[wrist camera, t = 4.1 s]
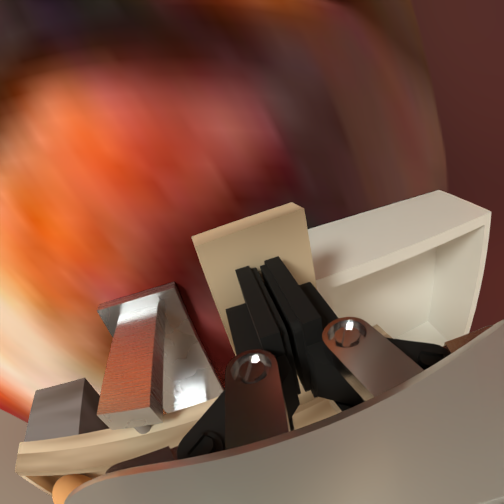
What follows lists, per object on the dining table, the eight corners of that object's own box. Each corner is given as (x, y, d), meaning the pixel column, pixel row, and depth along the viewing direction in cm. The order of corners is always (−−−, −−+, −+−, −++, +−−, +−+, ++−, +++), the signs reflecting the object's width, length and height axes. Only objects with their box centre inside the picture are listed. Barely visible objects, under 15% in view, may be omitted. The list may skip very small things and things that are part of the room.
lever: (-34, 299, 12) (-85, 372, 5) (315, 164, 16) (411, 189, 10) (84, 443, 19) (85, 514, 12) (338, 357, 23) (390, 416, 17)
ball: (39, 468, 11) (41, 518, 8) (83, 458, 12) (90, 513, 9) (76, 492, 13) (83, 536, 9) (118, 483, 14) (130, 530, 10)
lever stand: (99, 304, 19) (64, 408, 11) (174, 281, 20) (172, 390, 11) (168, 409, 25) (173, 496, 16) (228, 395, 25) (247, 484, 17)
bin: (280, 237, 20) (315, 280, 15) (439, 189, 21) (491, 211, 16) (307, 375, 26) (330, 423, 21) (429, 320, 28) (462, 353, 22)
